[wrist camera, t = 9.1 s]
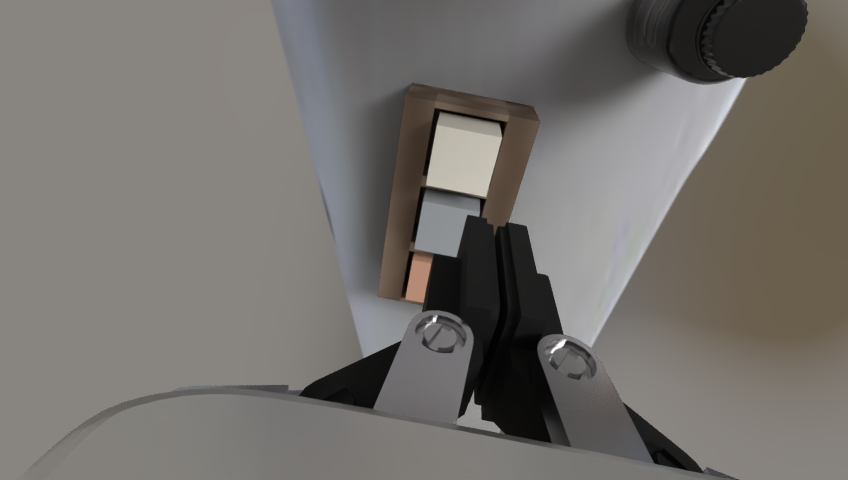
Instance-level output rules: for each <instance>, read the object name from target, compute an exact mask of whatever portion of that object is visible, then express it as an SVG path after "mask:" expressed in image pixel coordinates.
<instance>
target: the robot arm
mask: <svg viewBox="0 0 848 480" xmlns="http://www.w3.org/2000/svg"><path fill="white" fill-rule="evenodd" d="M288 389H289V386H288V385H239V386H189V387H183V388H178V389H176V390H174V391H171V392H167V393H159V394H154V395H149V396H145V397H141V398H137V399H134V400H130V401H127V402H123V403H120V404H118V405H116V406H114V407H111V408H109V409H106V410H104V411H102V412H100V413H98V414H97V415H95V416H93V417H92V418H90V419H88V420H86V421H85V422H84V423H82V424H81V425H80V426H78V427H77V428H75V429H74V430H73V431H71V432H70V433H69V434H67V435H66V436H65V437H64V438H63V439H61V440H60V441H59V442H58V443H57V444H55V445H54V446H53V447H52V448H51V449H50V450H49V451H48V452H46V453H45V454H44V455H43V456H42V457H41V458H40V459H39V460H38V461H36V462H35V463H34V464H33V465H32V466H31V467H30V468H29V469H28V470H27V471H26V472H25V473H24V474H23V475H22V476H21V477H20V478H19V479H18V480H739V479H736V478H734V477H731V476H729V475H726V474H723V473H721V472H718V471H716V470H713V469H711V468H708V467H707V468H706V469H705V470H704V471H702V470H701V468H700V467H699V466H698V465H697V463H696V462H695V461H694V460H693V459H692V458H691V457H690V456H688V455H687V454H686V453H685V452H684V451H683V450H681V449H680V448H679V447H678V446H677V445H675V444H674V443H673V442H672V441H670V440H669V439H667V437H665V436H664V435H663V434H662V433H660V432H659V431H658V430H657V429H655V428H654V427H653V426H652V425H650V424H649V423H648V422H647V421H646V420H644V419H643V418H642V417H641V416H639V415H638V414H637V413H636V412H634V411H633V410H632V409H631V408H629V407H628V406H627V405H626V404H624V403H623V402H622V400H621V398H620V396H619V394H618V393H617V390H616V389H615V386H614V384H613V383H612V381H611V379H610V377H609V375H608V373H607V371H606V369H605V367H604V365H603V363H602V361H601V360H600V358H599V357H598V356H597V354H596V353H595V352H594V351H593V350H592V349H591V348H590V347H589V346H587V345H586V344H584V343H583V342H581V341H580V340H577V339H575V338H573V337H570V336H566V335H564V334H563V331H562V327H561V323H560V319H559V315H558V311H557V307H556V304H555V300H554V296H553V292H552V288H551V284H550V280H549V278H548V276H547V275H544V274H538V273H537V270H536V266H535V261H534V257H533V252H532V248H531V243H530V239H529V234H528V230H527V227H526V226H524V225H519V224H514V223H509V222H507V223H506V224H505V226H504V227H503V226H498V227H497V230H496V233H495V236H494V227H493V224H488V223H487V218H483V217H478V216H473V215H467V218H466V221H465V225H464V229H463V233H462V237H461V241H460V245H459V249H458V253H457V257H452V256H447V255H442V254H436V253H434V254H433V258H432V263H431V268H430V272H429V277H428V282H427V287H426V292H425V298H424V303H423V310H422V313H419V314H418V315H416V316H415V317H413V319H412V320H411V322H410V323H409V325H408V328H407V330H406V332H405V335H404V337H403V339H402V341H400V342H398V343H395V344H393V345H391V346H389V347H387V348H385V349H383V350H381V351H378V352H376V353H374V354H372V355H370V356H368V357H366V358H363V359H361V360H359V361H357V362H355V363H353V364H351V365H349V366H346V367H344V368H342V369H340V370H338V371H336V372H334V373H332V374H329V375H327V376H325V377H323V378H321V379H319V380H316V381H315V382H313V383H312V384H310V385H308V386H307V387H306V388H305V389H304V390H292V391H291V390H288ZM473 391H474V402H475V404H476V405H481V412H482V420H486V421H491V422H494V423H495V424H496V425H497V426H498V427H499V428H500V429H501V431H500V433H495V432H490V431H485V430H480V429H475V428H470V427H464V426H459V425H456V423H457V419H458V418H460V417H461V416H463V415H464V414H465V411H466V409H467V406H468V403H469V402H470V399H471V396H472V394H473Z"/></svg>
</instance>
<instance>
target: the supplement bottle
mask: <svg viewBox="0 0 848 480" xmlns="http://www.w3.org/2000/svg"><path fill="white" fill-rule="evenodd" d="M807 15H808V11H807V3H806V2H804V0H636V1H635V2H634V4H633V6H632V8H631V10H630V13H629V16H628V20H627V25H626V37H627V42H628V45H629V48H630V50H631V52H632V53H633V55H634V56H635V57H636V58H637V59H638V60H640V61H641V62H643V63H645V64H647V65H649V66H651V67H653V68H656V69H658V70H661V71H663V72H666V73H668V74H671V75H673V76H675V77H678V78H680V79H683V80H685V81H688V82H691V83H696V84H702V85H709V84H718V83H722V82H726V81H729V80H731V79H734V78H738V77H739V78H746V77H754V76H756V75H762V74H763V73H765V72H766V71H770V70H772V69H773V68H774V67H775V66H777V65H779V64H780V63H781V62H782V61H783V60H784V59H786V58H787V57H788V56H789V54H790V53H791V52H792V51H793V50H795V48H796V45H797V44H798V42H800V41H801V36H802V35H803V33H804V32H805V26H806V24H807Z"/></svg>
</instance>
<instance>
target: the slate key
mask: <svg viewBox="0 0 848 480" xmlns="http://www.w3.org/2000/svg"><path fill="white" fill-rule="evenodd" d="M467 215H473V216H478V217H479V215H480V198H478V197H473V196H468V195H463V194H458V193H453V192H448V191H443V190H438V189H433V188H427V187H426V191H425V195H424V200H423V204H422V210H421V215H420V221H419V226H418V232H417V237H416V242H415V248H414V249H416V250H421V251H427V252H432V253H437V254H442V255H447V256H452V257H457V253H458V249H459V245H460V241H461V237H462V233H463V229H464V225H465V221H466V218H467Z"/></svg>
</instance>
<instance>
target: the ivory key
mask: <svg viewBox="0 0 848 480" xmlns="http://www.w3.org/2000/svg"><path fill="white" fill-rule="evenodd" d="M501 140H502V135H501V129H500V124H499V123H496V122H491V121H486V120H481V119H476V118H471V117H466V116H461V115H456V114H451V113H445V112H440V115H439V119H438V123H437V127H436V132H435V138H434V143H433V149H432V154H431V160H430V165H429V170H428V176H427V181H426V185H427V186H433V187H438V188H443V189H448V190H453V191H458V192H463V193H468V194H473V195H478V196H484V197H486V195H487V192H488V188H489V184H490V181H491V177H492V173H493V170H494V166H495V162H496V159H497V155H498V151H499V147H500V144H501Z"/></svg>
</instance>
